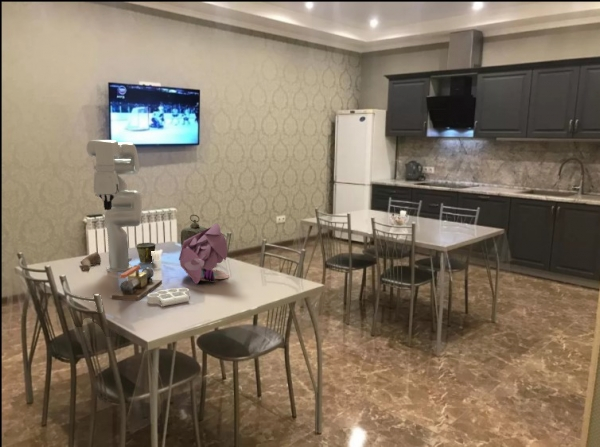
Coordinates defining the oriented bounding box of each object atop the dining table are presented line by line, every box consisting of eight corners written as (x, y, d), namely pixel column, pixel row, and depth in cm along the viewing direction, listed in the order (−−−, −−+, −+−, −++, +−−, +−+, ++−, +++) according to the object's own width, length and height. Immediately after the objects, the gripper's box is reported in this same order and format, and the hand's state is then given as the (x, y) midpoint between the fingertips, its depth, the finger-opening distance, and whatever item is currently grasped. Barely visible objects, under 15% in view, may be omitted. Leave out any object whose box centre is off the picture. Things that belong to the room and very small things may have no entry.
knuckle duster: (154, 310, 198) (143, 299, 210) (196, 301, 208) (183, 292, 220) (154, 302, 197) (143, 292, 209) (196, 294, 207) (183, 285, 219)
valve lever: (119, 278, 205) (119, 274, 204) (135, 268, 220) (135, 264, 220) (126, 278, 204) (125, 275, 204) (141, 268, 220) (141, 265, 219)
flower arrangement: (241, 291, 237) (254, 235, 233) (197, 291, 221) (210, 231, 217) (206, 268, 263) (217, 217, 259) (165, 266, 247) (176, 212, 243)
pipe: (80, 262, 247) (100, 257, 251) (78, 254, 262) (98, 250, 266) (83, 274, 249) (103, 269, 253) (81, 266, 264) (101, 261, 268)
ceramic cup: (135, 261, 269) (135, 243, 267) (154, 259, 273) (154, 241, 271) (138, 267, 257) (138, 248, 255) (158, 265, 261) (157, 247, 260)
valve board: (137, 281, 233) (137, 278, 232) (161, 283, 231) (161, 280, 231) (111, 298, 209) (111, 295, 209) (138, 300, 208) (138, 296, 207)
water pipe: (142, 279, 231) (141, 262, 229) (154, 280, 230) (154, 263, 229) (119, 294, 210) (118, 276, 208) (132, 295, 209) (131, 276, 207)
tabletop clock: (210, 258, 276) (209, 215, 271) (199, 262, 268) (197, 217, 264) (191, 255, 283) (190, 212, 279) (180, 258, 276) (178, 214, 271)
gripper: (85, 169, 216) (88, 210, 220) (117, 169, 215) (119, 211, 218) (94, 167, 224) (97, 207, 227) (125, 168, 222) (127, 208, 225)
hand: (108, 209), depth 223 cm, fingers closed
